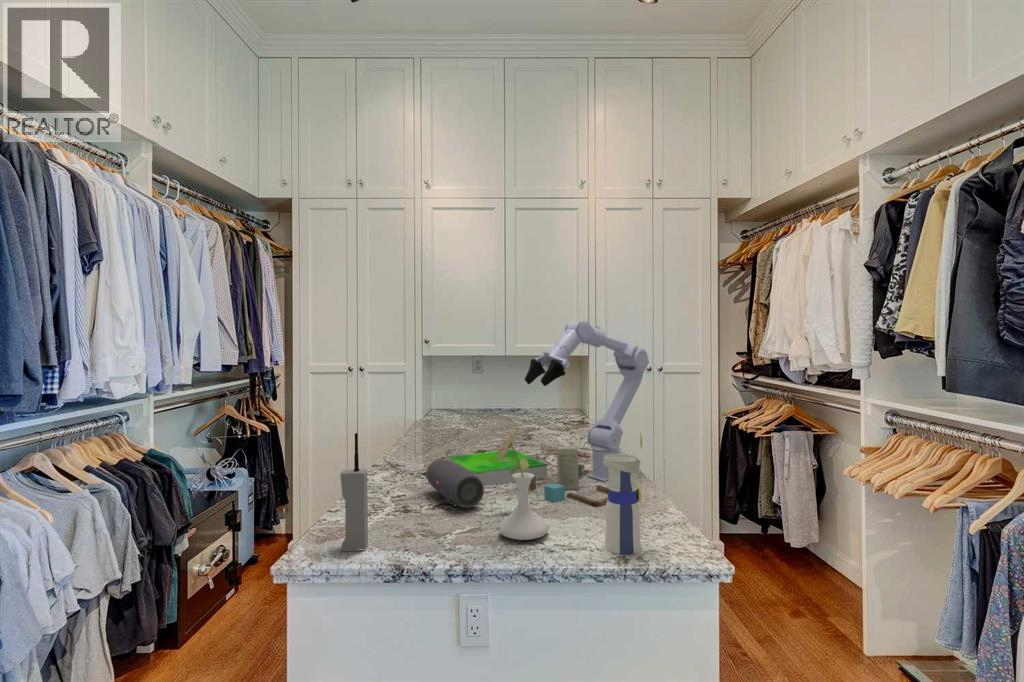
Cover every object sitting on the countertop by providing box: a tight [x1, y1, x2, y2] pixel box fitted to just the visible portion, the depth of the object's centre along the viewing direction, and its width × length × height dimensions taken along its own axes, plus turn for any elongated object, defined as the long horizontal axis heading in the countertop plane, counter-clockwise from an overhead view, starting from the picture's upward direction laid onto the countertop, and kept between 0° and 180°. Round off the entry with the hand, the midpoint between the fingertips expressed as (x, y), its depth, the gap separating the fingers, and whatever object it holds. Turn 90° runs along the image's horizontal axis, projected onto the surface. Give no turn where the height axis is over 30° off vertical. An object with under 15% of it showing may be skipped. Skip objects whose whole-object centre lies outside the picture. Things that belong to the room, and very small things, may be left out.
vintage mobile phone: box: [339, 432, 369, 551], centre depth 120 cm, size 4×5×25 cm
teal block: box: [543, 482, 566, 504], centre depth 154 cm, size 4×4×4 cm
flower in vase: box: [497, 428, 549, 541], centre depth 126 cm, size 13×11×25 cm
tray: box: [447, 449, 548, 487], centre depth 183 cm, size 25×25×5 cm
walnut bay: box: [566, 485, 608, 508], centre depth 155 cm, size 13×12×1 cm
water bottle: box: [603, 432, 643, 555], centre depth 119 cm, size 8×9×25 cm
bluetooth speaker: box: [426, 458, 485, 508], centre depth 153 cm, size 23×9×10 cm, turn 27°
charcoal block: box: [578, 463, 583, 478], centre depth 179 cm, size 4×4×4 cm
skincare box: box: [556, 445, 580, 490], centre depth 166 cm, size 6×4×12 cm
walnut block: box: [529, 476, 537, 491], centre depth 164 cm, size 4×4×4 cm
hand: (534, 382), depth 161 cm, fingers open, 7 cm apart
